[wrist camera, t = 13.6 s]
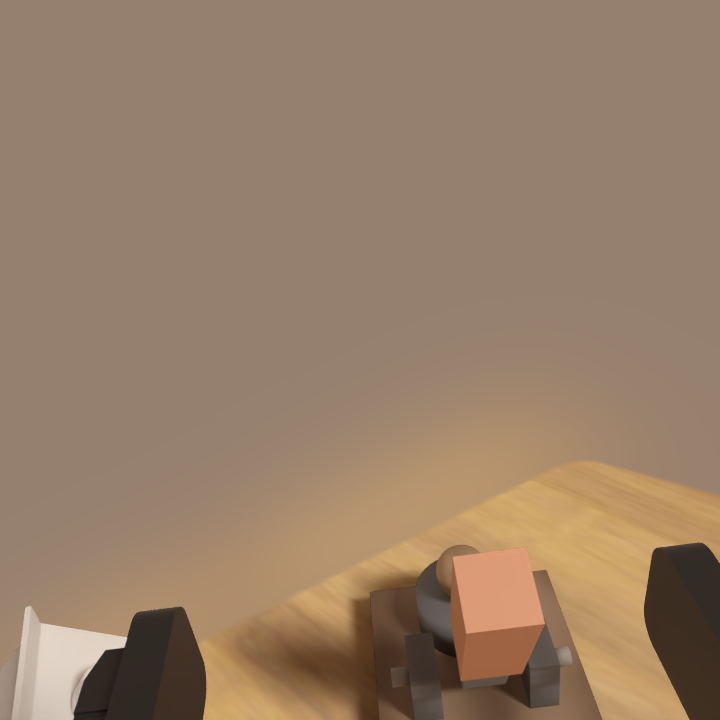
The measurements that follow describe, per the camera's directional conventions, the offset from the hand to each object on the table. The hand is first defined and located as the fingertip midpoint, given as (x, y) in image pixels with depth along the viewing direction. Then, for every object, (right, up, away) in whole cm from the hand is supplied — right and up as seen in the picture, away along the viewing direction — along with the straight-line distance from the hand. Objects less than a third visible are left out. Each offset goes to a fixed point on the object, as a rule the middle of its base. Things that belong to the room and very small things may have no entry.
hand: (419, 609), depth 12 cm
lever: (+6, -13, +26) cm, 30 cm away
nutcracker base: (+6, -16, +29) cm, 34 cm away
